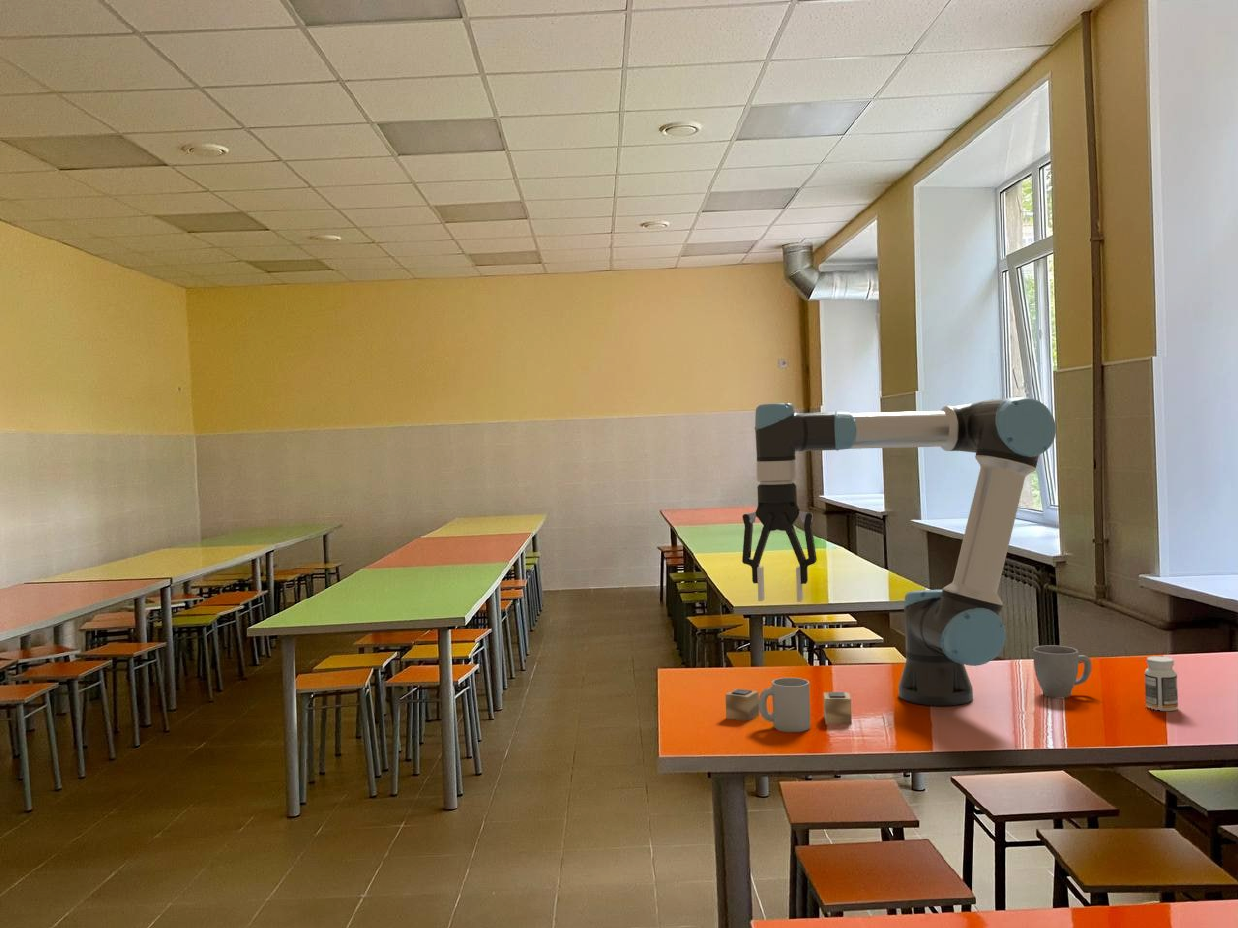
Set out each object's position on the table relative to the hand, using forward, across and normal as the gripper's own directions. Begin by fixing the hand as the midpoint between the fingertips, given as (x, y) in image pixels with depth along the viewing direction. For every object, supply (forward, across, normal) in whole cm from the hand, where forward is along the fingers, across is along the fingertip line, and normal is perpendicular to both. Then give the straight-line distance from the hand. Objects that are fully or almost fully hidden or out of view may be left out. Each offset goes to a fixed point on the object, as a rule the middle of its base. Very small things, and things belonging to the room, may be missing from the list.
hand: (780, 600), depth 193 cm
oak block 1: (+25, +10, -6) cm, 28 cm away
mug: (+25, -54, -35) cm, 69 cm away
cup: (+25, 0, 0) cm, 25 cm away
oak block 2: (+25, -10, -7) cm, 28 cm away
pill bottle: (+25, -71, -27) cm, 80 cm away
